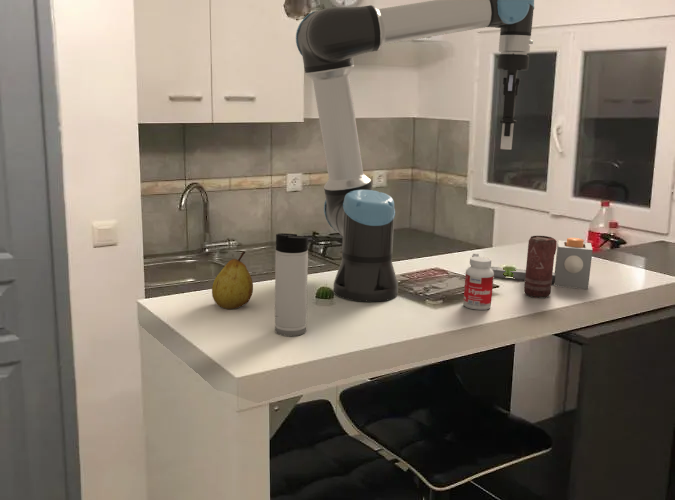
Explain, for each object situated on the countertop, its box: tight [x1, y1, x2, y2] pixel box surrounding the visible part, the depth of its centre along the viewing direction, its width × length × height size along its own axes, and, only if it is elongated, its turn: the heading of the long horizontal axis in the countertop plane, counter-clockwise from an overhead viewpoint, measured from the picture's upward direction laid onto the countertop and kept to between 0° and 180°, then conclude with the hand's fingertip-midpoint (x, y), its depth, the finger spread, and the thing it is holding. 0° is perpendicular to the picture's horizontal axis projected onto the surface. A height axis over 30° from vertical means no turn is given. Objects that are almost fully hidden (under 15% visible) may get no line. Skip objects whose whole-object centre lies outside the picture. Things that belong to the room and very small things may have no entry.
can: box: [523, 235, 558, 299], centre depth 173 cm, size 6×6×14 cm
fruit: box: [211, 251, 254, 310], centre depth 158 cm, size 9×9×12 cm
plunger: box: [566, 237, 585, 248], centre depth 183 cm, size 4×4×6 cm
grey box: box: [553, 239, 593, 290], centre depth 184 cm, size 8×8×10 cm
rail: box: [471, 253, 555, 284], centre depth 188 cm, size 21×3×5 cm, turn 75°
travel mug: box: [274, 232, 309, 337], centre depth 142 cm, size 6×7×20 cm
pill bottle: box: [462, 256, 495, 311], centre depth 163 cm, size 6×6×11 cm
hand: (505, 149), depth 187 cm, fingers closed
